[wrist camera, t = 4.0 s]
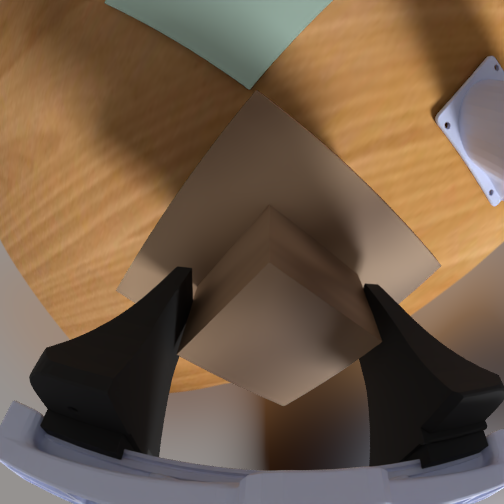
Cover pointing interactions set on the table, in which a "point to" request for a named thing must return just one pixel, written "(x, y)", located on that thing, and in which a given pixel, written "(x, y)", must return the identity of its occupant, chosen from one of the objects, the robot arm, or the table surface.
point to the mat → (228, 29)
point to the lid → (278, 257)
